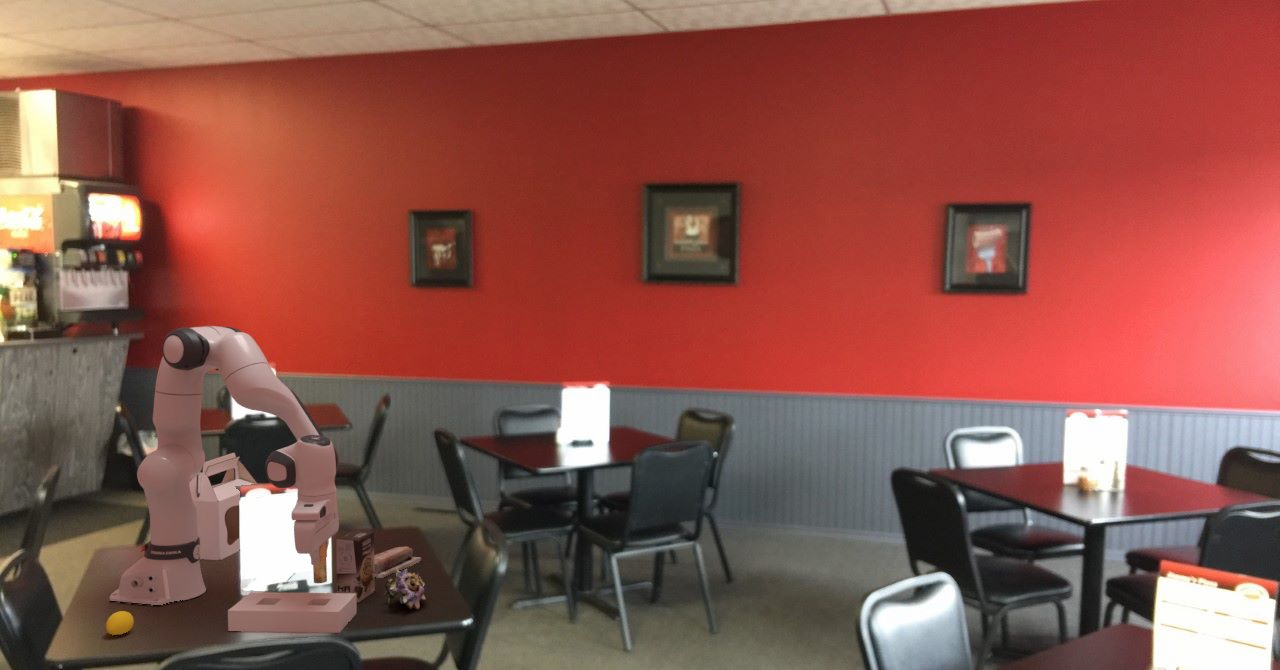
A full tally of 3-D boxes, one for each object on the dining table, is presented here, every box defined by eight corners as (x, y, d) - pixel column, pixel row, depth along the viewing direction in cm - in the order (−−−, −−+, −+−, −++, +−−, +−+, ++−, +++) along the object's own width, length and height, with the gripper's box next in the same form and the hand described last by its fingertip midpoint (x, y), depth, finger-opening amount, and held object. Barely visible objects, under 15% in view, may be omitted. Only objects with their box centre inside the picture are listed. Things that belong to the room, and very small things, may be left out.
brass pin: (311, 583, 233) (310, 541, 232) (316, 579, 236) (314, 538, 235) (324, 583, 233) (323, 541, 232) (328, 579, 236) (327, 538, 235)
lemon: (122, 642, 223) (119, 620, 222) (100, 640, 224) (97, 619, 223) (141, 627, 230) (139, 605, 229) (120, 625, 231) (117, 604, 230)
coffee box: (359, 603, 249) (358, 540, 248) (335, 601, 250) (334, 538, 249) (375, 591, 258) (375, 531, 256) (353, 589, 259) (352, 529, 258)
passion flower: (416, 629, 245) (412, 601, 238) (375, 619, 247) (370, 590, 239) (433, 593, 254) (430, 564, 246) (394, 583, 255) (389, 554, 248)
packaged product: (381, 563, 268) (352, 558, 272) (382, 580, 268) (352, 576, 272) (421, 546, 284) (393, 542, 288) (422, 562, 284) (393, 558, 288)
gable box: (219, 561, 284) (217, 465, 282) (178, 558, 286) (175, 463, 284) (261, 540, 306) (259, 451, 304) (222, 538, 308) (220, 449, 306)
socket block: (228, 631, 229) (227, 610, 228) (251, 612, 242) (251, 592, 241) (339, 632, 228) (339, 611, 228) (356, 613, 241) (356, 593, 241)
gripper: (319, 494, 243) (321, 549, 244) (288, 514, 223) (290, 574, 224) (344, 494, 243) (346, 549, 244) (316, 514, 223) (317, 574, 224)
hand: (319, 561), depth 234 cm, fingers closed on brass pin, 3 cm apart
